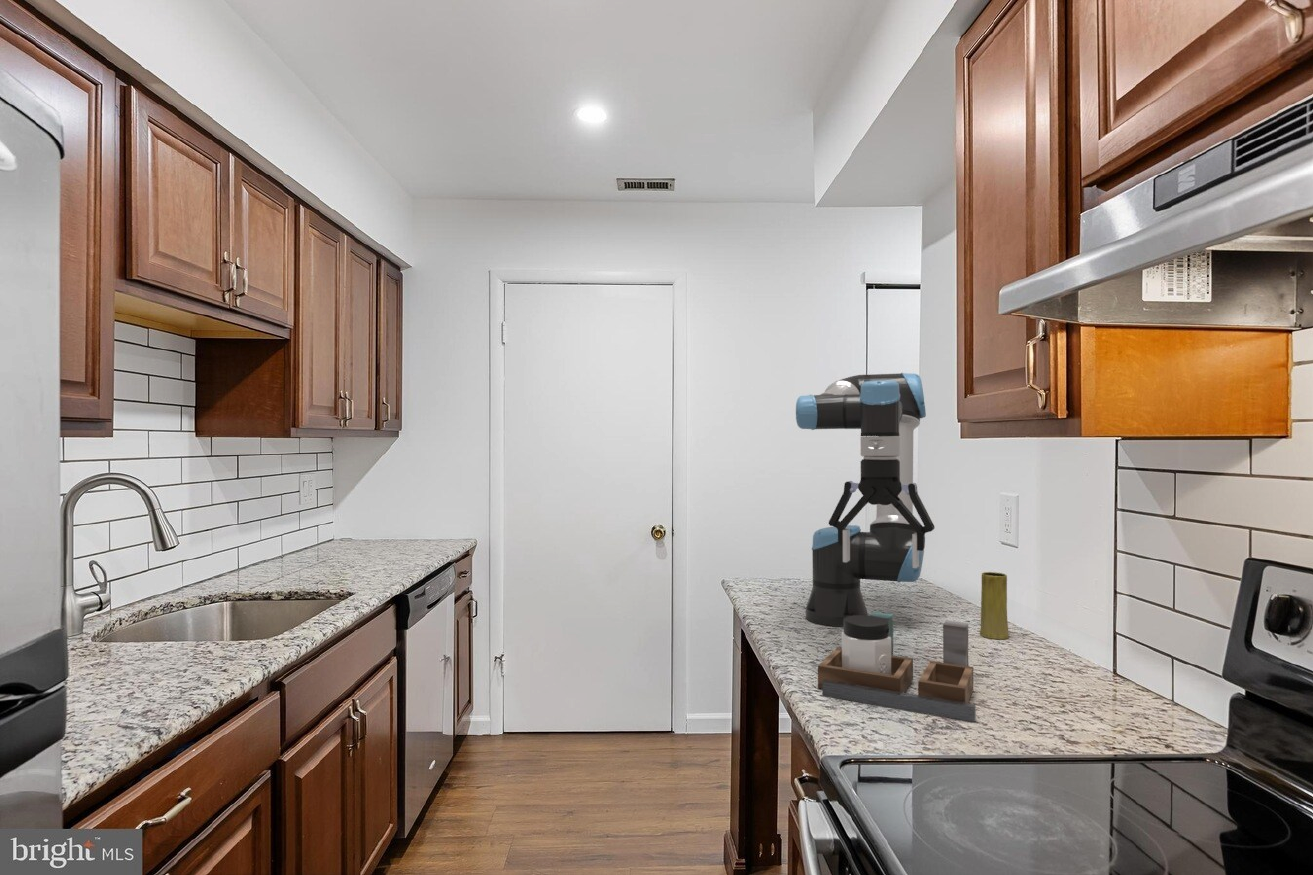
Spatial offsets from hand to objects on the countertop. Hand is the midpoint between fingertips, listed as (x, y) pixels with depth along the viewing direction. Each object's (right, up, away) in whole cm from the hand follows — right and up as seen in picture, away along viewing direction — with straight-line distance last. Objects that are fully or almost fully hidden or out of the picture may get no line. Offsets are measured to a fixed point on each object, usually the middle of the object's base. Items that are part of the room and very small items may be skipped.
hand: (880, 564), depth 146 cm
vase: (+33, -20, +21) cm, 44 cm away
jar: (-6, -21, -11) cm, 24 cm away
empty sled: (+8, -20, -14) cm, 26 cm away
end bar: (-4, -21, -22) cm, 30 cm away
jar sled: (-4, -20, -7) cm, 22 cm away
